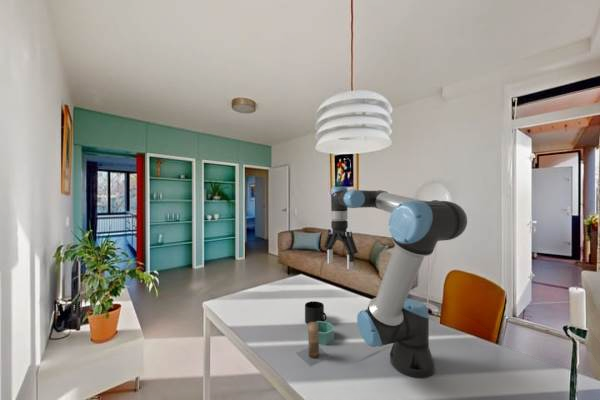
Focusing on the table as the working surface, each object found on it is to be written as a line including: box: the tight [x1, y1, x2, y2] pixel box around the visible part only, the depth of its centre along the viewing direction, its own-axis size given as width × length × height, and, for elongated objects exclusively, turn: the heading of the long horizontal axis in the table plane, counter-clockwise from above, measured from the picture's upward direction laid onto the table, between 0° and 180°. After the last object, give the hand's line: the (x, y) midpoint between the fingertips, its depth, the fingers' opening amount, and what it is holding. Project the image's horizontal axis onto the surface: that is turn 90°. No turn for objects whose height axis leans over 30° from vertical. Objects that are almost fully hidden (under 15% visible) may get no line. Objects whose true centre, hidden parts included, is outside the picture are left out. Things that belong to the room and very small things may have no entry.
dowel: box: [307, 322, 320, 358], centre depth 98 cm, size 4×4×12 cm
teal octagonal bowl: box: [317, 321, 335, 346], centre depth 111 cm, size 11×11×6 cm
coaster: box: [295, 347, 332, 367], centre depth 99 cm, size 10×10×1 cm
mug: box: [304, 300, 327, 325], centre depth 126 cm, size 9×12×9 cm
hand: (339, 265), depth 118 cm, fingers open, 13 cm apart
